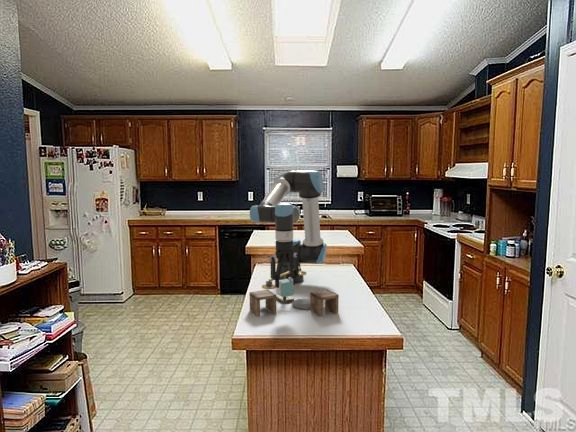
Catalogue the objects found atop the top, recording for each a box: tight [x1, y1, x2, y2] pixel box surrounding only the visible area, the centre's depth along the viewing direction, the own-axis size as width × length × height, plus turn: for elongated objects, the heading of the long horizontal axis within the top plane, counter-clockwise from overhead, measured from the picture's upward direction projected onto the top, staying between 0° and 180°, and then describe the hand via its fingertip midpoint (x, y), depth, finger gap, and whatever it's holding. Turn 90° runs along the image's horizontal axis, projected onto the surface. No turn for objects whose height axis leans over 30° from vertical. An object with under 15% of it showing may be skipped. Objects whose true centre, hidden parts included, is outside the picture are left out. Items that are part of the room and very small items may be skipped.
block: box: [281, 279, 294, 297], centre depth 171 cm, size 5×5×6 cm
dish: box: [291, 298, 310, 311], centre depth 186 cm, size 12×12×1 cm
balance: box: [261, 266, 307, 304], centre depth 193 cm, size 8×23×16 cm, turn 117°
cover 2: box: [309, 289, 339, 318], centre depth 177 cm, size 9×9×8 cm
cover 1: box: [249, 289, 277, 318], centre depth 177 cm, size 9×9×8 cm
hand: (285, 293), depth 171 cm, fingers closed on block, 5 cm apart
